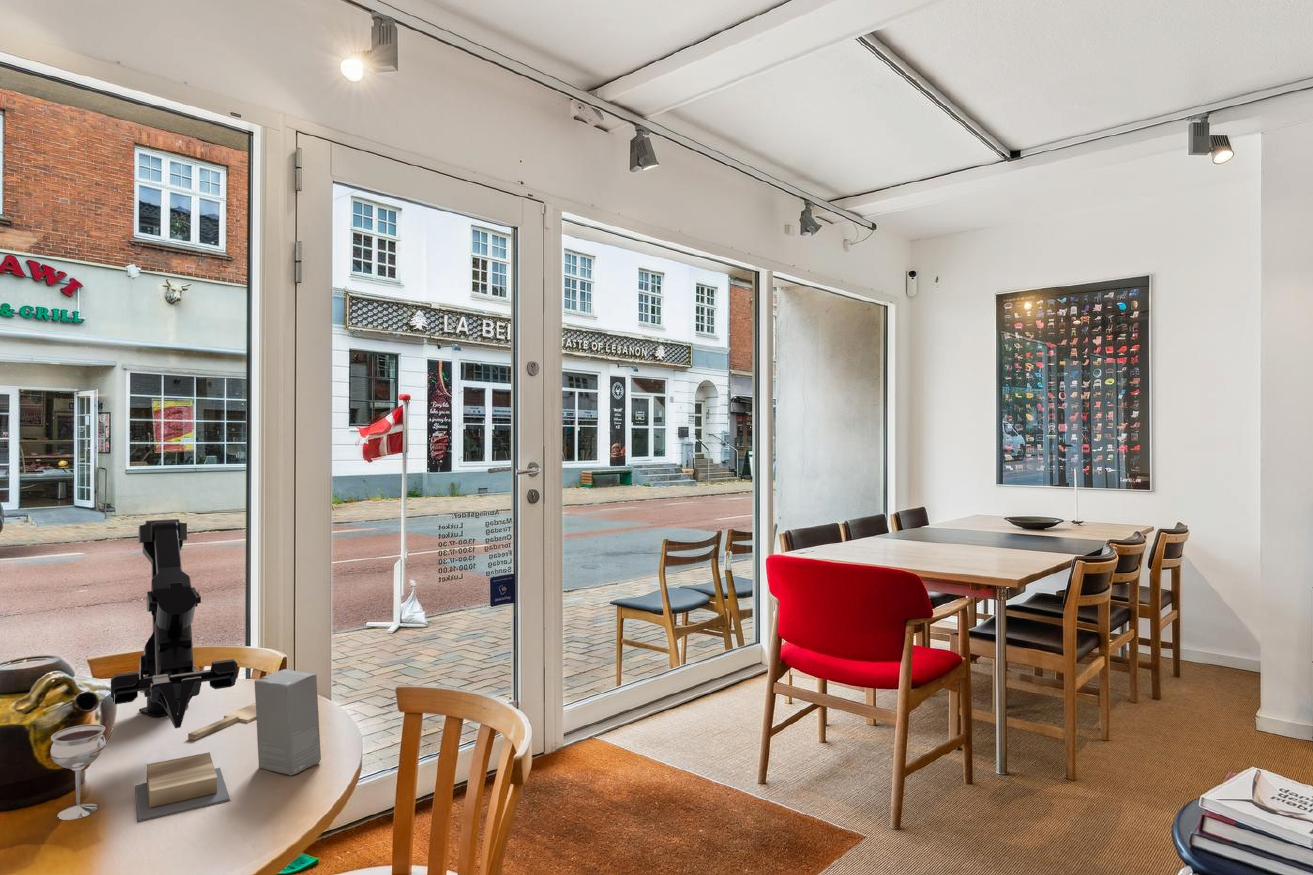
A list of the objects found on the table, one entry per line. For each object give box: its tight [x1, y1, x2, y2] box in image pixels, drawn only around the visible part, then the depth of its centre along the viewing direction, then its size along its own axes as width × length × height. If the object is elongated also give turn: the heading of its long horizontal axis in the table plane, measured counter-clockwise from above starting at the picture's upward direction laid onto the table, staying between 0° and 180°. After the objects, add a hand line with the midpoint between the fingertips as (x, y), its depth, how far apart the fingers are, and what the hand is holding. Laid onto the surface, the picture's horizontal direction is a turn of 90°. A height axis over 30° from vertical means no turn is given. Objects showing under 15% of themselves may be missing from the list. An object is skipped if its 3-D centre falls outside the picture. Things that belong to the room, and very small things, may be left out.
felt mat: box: [135, 767, 231, 822], centre depth 125 cm, size 13×12×1 cm
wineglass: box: [49, 723, 107, 821], centre depth 119 cm, size 7×7×12 cm
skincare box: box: [253, 668, 322, 776], centre depth 135 cm, size 8×7×16 cm
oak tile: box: [145, 752, 217, 808], centre depth 126 cm, size 3×9×11 cm
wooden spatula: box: [187, 702, 256, 741], centre depth 154 cm, size 18×6×1 cm, turn 162°
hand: (178, 727), depth 132 cm, fingers closed
